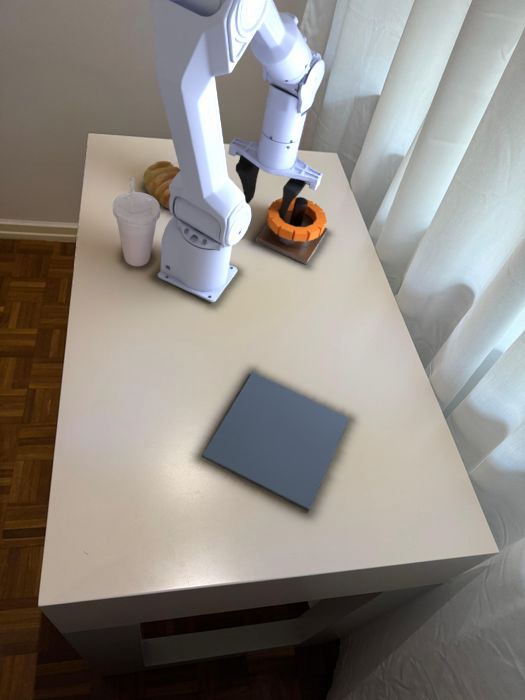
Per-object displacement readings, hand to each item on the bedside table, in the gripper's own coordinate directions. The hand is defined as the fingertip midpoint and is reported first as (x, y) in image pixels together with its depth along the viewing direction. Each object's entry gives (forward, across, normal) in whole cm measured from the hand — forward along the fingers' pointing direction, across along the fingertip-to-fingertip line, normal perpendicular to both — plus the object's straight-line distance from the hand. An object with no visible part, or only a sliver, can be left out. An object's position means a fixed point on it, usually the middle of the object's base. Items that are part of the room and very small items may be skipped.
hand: (265, 207), depth 92 cm
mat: (+3, -18, +35) cm, 40 cm away
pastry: (+4, +16, +2) cm, 17 cm away
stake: (+3, -6, 0) cm, 7 cm away
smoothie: (+4, +12, +18) cm, 22 cm away
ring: (0, -6, 0) cm, 6 cm away
